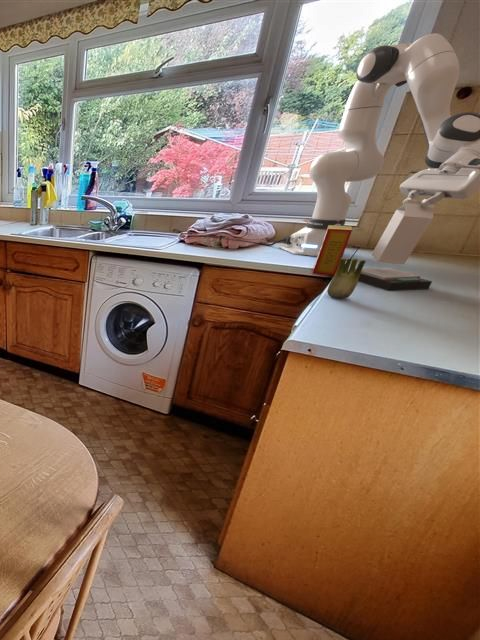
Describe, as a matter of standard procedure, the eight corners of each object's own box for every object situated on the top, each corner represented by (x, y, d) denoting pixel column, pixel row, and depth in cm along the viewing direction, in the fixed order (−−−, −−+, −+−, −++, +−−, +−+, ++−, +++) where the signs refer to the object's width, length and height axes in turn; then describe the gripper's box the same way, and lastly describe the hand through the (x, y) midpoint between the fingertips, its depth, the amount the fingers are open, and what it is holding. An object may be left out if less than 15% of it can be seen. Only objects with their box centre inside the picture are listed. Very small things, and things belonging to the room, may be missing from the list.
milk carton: (403, 265, 140) (441, 204, 128) (377, 262, 142) (411, 202, 131) (396, 257, 145) (432, 198, 134) (371, 254, 148) (403, 196, 136)
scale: (347, 277, 151) (351, 268, 150) (383, 276, 151) (387, 267, 150) (388, 290, 137) (393, 280, 135) (428, 289, 137) (433, 278, 136)
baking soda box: (334, 275, 154) (352, 228, 146) (312, 273, 157) (328, 227, 150) (334, 270, 161) (351, 225, 153) (313, 268, 164) (328, 224, 156)
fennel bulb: (352, 298, 131) (368, 258, 125) (345, 301, 129) (361, 261, 123) (330, 294, 135) (344, 255, 130) (322, 297, 133) (337, 257, 127)
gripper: (422, 160, 138) (379, 194, 142) (494, 161, 120) (442, 200, 124) (429, 175, 140) (387, 208, 144) (500, 178, 122) (449, 216, 126)
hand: (413, 205), depth 134 cm, fingers closed on milk carton, 4 cm apart
